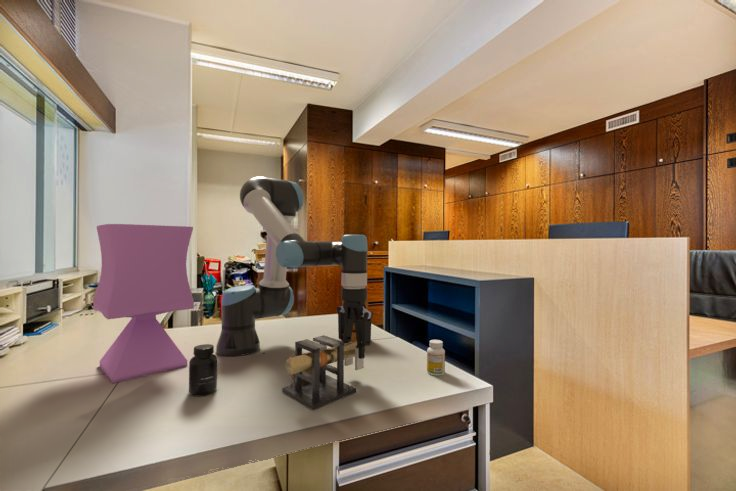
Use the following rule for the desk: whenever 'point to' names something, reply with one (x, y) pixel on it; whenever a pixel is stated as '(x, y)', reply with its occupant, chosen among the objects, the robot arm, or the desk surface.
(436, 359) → the supplement bottle
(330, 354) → the air tube
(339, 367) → the collar stand
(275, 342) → the desk surface
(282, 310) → the robot arm
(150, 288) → the pink table lamp
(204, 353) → the supplement bottle
